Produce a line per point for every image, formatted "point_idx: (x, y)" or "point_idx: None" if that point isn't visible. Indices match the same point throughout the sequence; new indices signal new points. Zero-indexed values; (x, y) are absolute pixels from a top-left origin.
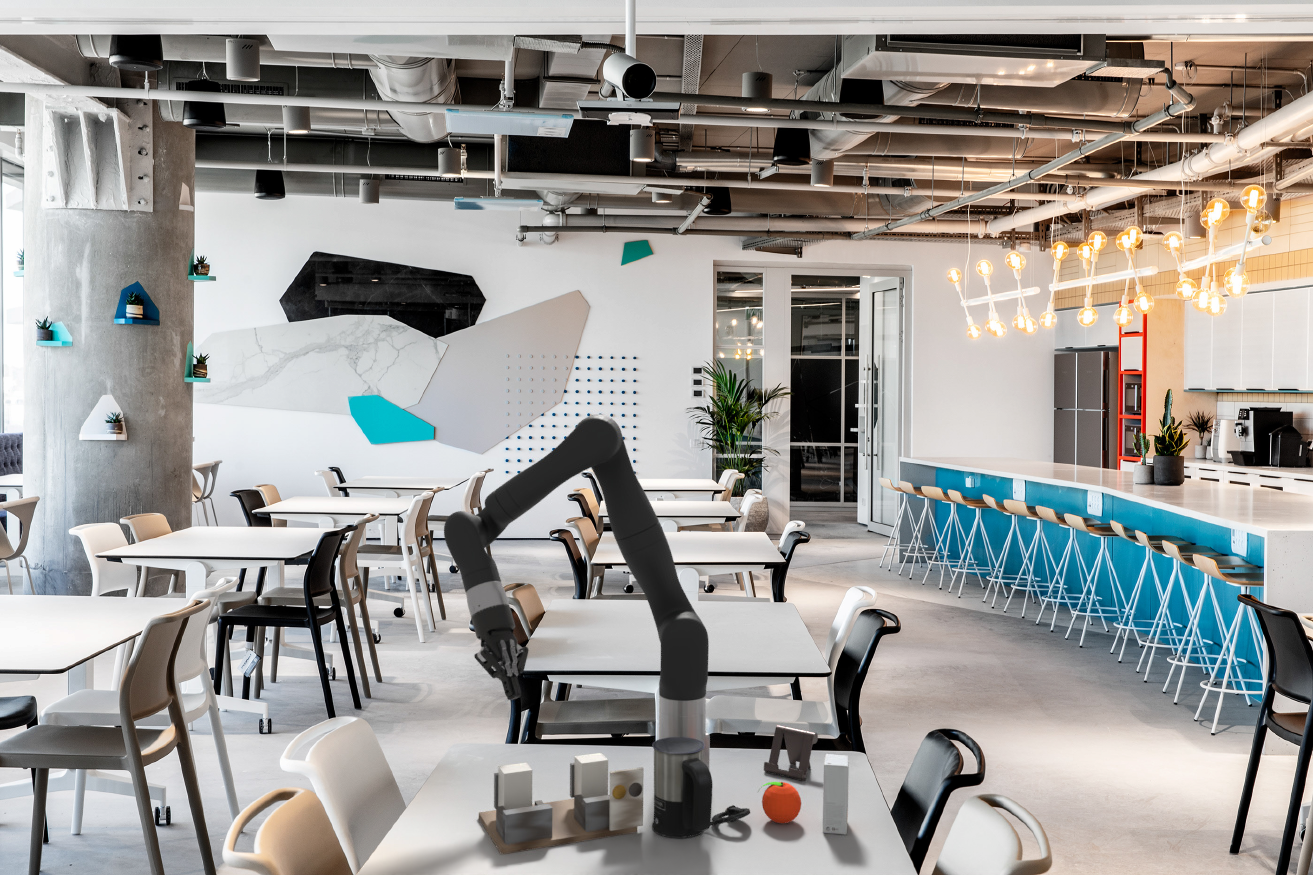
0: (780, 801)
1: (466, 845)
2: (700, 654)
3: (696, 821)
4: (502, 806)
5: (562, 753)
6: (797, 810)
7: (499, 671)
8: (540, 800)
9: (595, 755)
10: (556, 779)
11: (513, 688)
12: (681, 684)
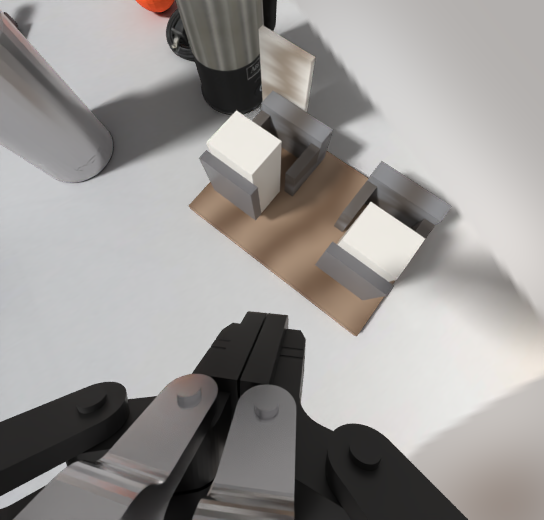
0: None
1: (439, 285)
2: None
3: (275, 15)
4: None
5: (17, 397)
6: None
7: (407, 460)
8: (344, 212)
9: (225, 143)
10: (148, 324)
11: (282, 338)
12: None
